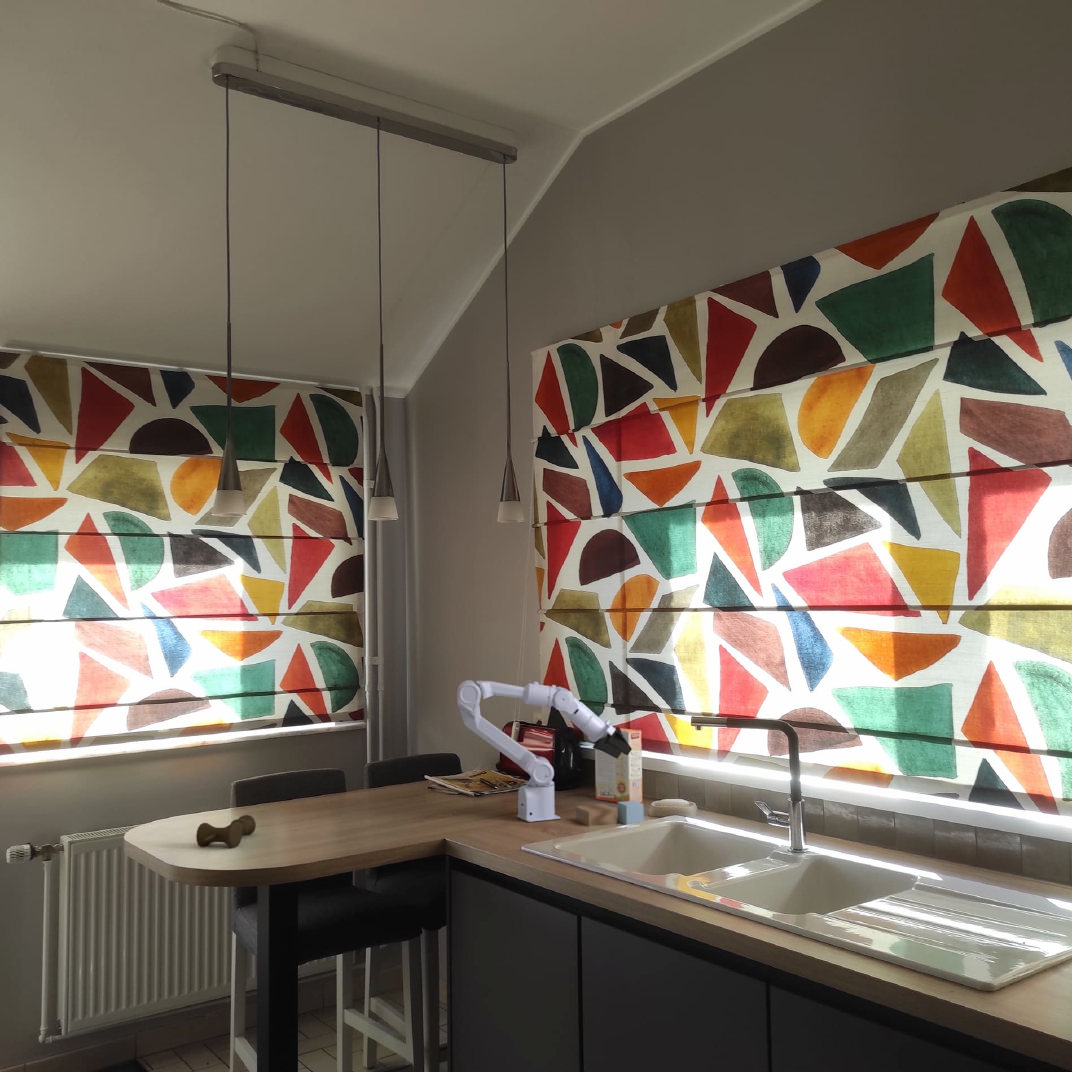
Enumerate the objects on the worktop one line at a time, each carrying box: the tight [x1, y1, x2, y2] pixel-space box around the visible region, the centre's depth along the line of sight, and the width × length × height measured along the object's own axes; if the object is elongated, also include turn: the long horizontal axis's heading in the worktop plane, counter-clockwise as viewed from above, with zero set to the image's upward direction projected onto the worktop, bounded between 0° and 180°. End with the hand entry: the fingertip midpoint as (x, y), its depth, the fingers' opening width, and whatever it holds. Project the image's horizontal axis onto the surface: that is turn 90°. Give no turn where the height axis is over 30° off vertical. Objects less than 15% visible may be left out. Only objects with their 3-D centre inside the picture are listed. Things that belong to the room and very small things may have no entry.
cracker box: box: [594, 727, 644, 804], centre depth 288 cm, size 14×6×21 cm, turn 41°
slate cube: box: [616, 801, 645, 825], centre depth 259 cm, size 5×5×5 cm
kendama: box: [195, 814, 256, 849], centre depth 240 cm, size 6×10×20 cm
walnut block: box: [575, 803, 618, 827], centre depth 259 cm, size 8×8×4 cm
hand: (624, 753), depth 268 cm, fingers open, 7 cm apart
